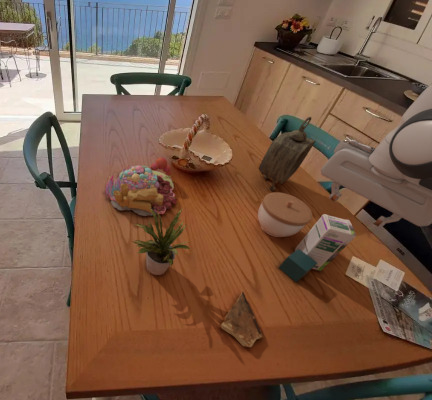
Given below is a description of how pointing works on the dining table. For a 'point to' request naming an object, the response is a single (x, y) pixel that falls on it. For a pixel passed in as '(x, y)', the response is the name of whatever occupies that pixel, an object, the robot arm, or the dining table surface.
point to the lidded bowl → (283, 214)
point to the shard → (242, 323)
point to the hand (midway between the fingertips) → (354, 211)
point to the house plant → (161, 245)
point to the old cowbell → (286, 155)
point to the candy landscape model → (143, 189)
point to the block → (297, 265)
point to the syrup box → (327, 240)
